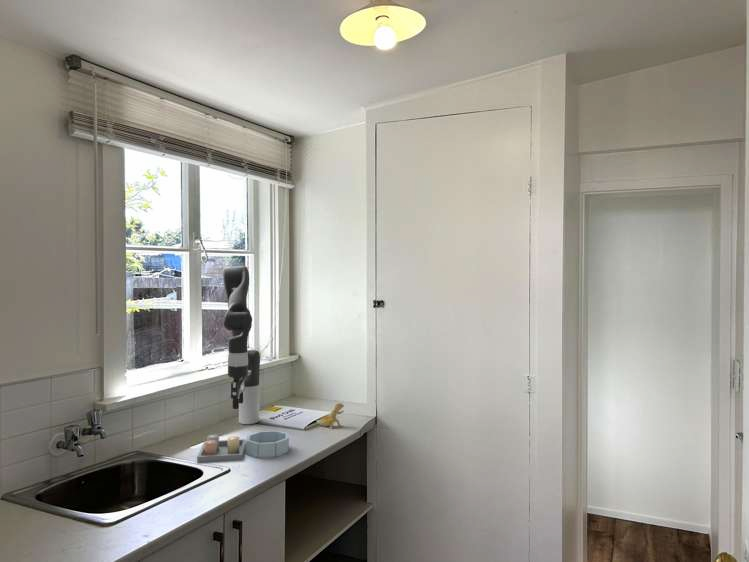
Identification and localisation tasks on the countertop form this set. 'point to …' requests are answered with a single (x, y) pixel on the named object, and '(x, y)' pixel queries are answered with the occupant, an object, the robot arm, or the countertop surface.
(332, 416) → the toy
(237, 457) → the tray
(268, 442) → the bowl
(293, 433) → the countertop surface
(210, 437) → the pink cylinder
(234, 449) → the pebble sand
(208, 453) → the pebble rust
